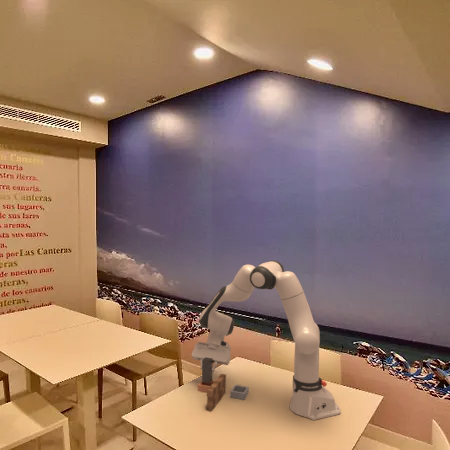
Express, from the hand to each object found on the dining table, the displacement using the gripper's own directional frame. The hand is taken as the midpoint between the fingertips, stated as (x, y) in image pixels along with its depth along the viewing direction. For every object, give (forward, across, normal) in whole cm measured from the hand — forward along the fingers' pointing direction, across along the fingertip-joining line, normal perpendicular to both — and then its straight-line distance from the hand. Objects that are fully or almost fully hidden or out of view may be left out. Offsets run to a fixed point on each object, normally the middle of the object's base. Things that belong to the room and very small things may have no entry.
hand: (206, 370), depth 176 cm
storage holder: (+6, +17, +7) cm, 20 cm away
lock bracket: (+6, 0, +7) cm, 10 cm away
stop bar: (+4, 0, +5) cm, 6 cm away
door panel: (+13, +9, +1) cm, 16 cm away
